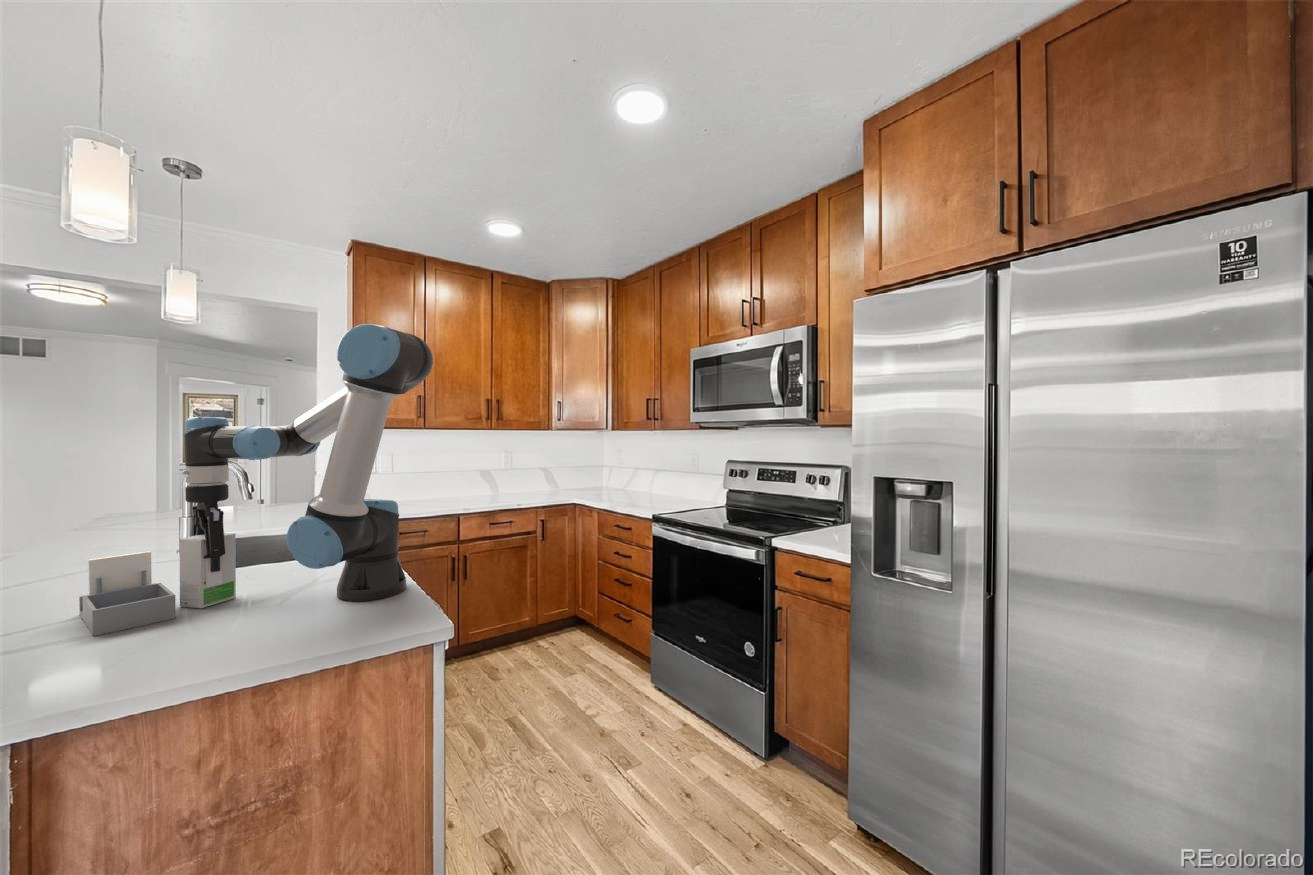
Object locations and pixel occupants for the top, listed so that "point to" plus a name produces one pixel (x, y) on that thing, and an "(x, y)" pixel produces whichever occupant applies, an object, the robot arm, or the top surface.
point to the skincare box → (195, 573)
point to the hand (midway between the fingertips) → (208, 581)
